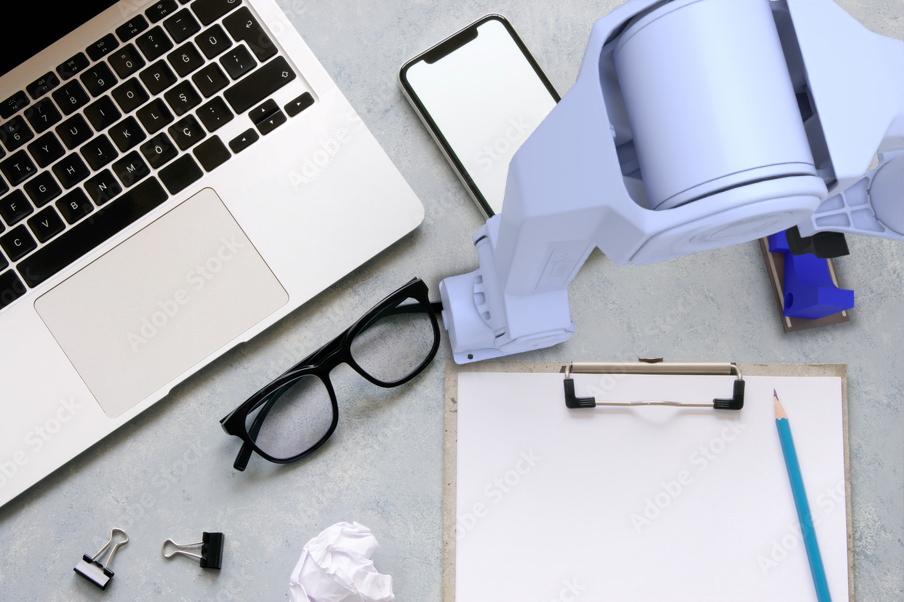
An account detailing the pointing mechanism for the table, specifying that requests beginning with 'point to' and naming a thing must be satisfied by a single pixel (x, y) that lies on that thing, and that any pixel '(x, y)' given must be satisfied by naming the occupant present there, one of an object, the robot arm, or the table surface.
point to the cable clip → (808, 284)
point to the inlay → (776, 274)
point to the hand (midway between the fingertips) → (837, 233)
